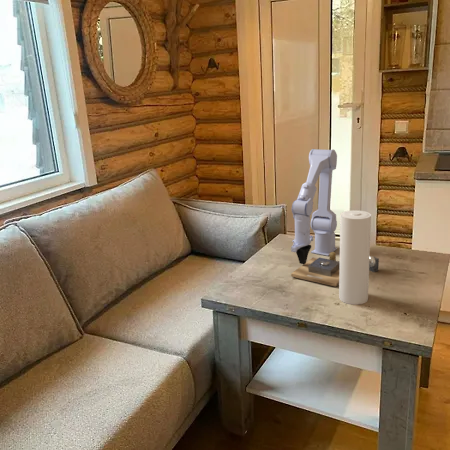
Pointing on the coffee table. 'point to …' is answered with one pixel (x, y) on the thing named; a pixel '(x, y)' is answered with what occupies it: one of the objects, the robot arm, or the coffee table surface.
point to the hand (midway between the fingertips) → (302, 263)
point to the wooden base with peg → (304, 274)
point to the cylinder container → (354, 256)
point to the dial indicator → (373, 264)
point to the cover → (324, 266)
